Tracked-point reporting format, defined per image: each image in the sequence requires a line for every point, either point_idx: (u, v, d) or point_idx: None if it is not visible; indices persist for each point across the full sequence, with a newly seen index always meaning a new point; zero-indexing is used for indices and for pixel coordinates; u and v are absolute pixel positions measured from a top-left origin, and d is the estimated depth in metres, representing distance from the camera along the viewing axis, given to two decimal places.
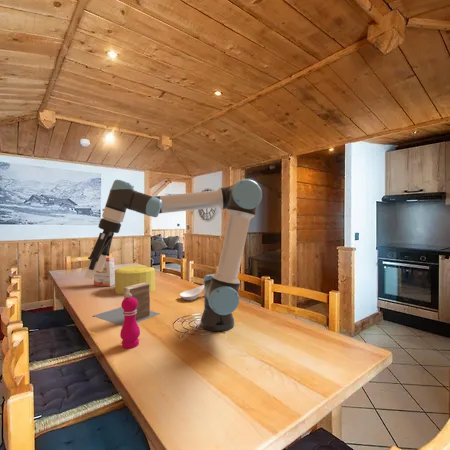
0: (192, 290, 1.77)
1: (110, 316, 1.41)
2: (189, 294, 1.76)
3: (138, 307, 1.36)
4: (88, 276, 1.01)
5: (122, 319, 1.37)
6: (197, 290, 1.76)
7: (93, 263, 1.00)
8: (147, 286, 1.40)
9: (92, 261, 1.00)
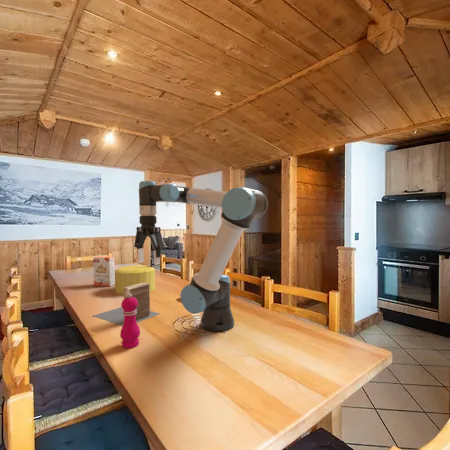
0: None
1: (110, 316, 1.41)
2: None
3: (138, 307, 1.36)
4: (157, 263, 1.28)
5: (122, 319, 1.37)
6: None
7: (159, 251, 1.28)
8: (147, 286, 1.40)
9: (158, 250, 1.27)
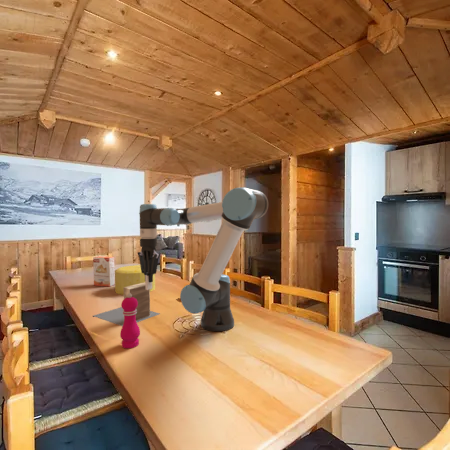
0: None
1: (110, 316, 1.41)
2: None
3: (138, 307, 1.36)
4: (149, 287, 1.32)
5: (122, 319, 1.37)
6: None
7: (152, 277, 1.31)
8: None
9: (151, 275, 1.31)
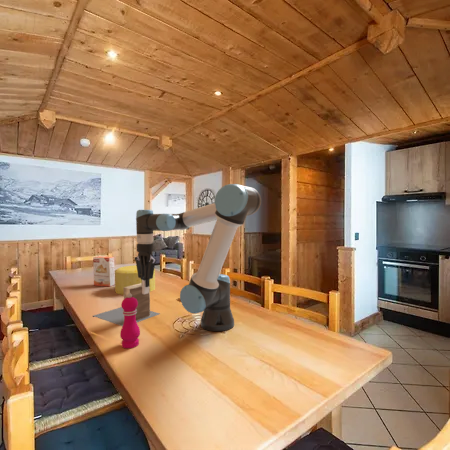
0: None
1: (110, 316, 1.41)
2: None
3: (138, 307, 1.36)
4: (146, 292, 1.33)
5: (122, 319, 1.37)
6: None
7: (148, 281, 1.33)
8: None
9: (147, 280, 1.32)
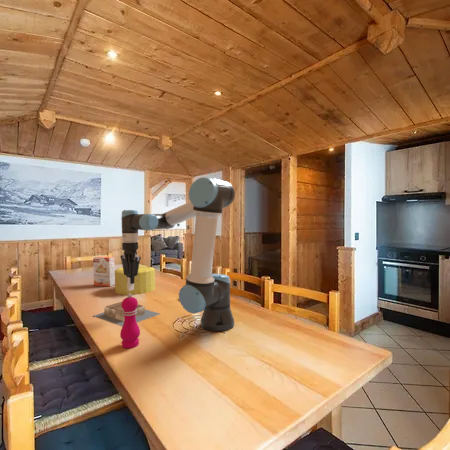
0: None
1: None
2: None
3: None
4: (131, 288, 1.40)
5: None
6: None
7: (133, 278, 1.39)
8: None
9: (132, 277, 1.39)
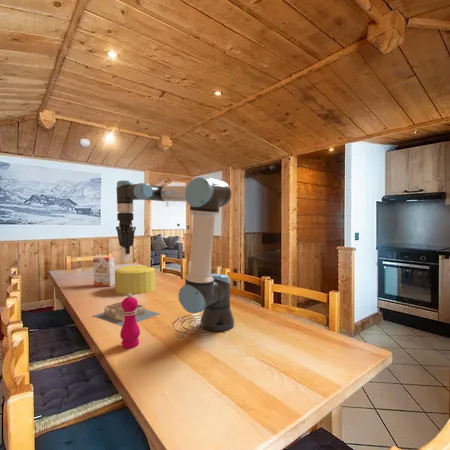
0: None
1: None
2: None
3: None
4: (127, 259, 1.41)
5: None
6: None
7: (129, 249, 1.41)
8: None
9: (128, 247, 1.40)
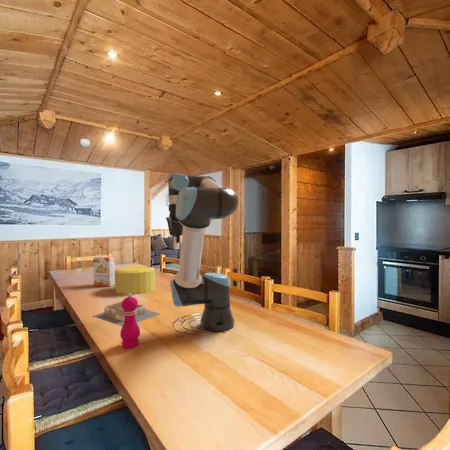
0: None
1: None
2: None
3: None
4: (177, 247, 1.50)
5: None
6: None
7: (179, 238, 1.50)
8: None
9: (178, 237, 1.49)
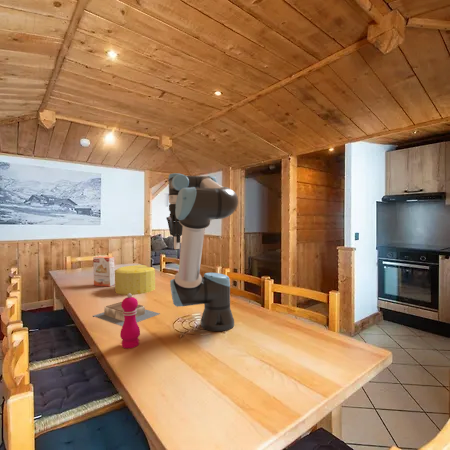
0: None
1: None
2: None
3: None
4: (177, 247, 1.50)
5: None
6: None
7: (179, 238, 1.50)
8: None
9: (179, 236, 1.49)
